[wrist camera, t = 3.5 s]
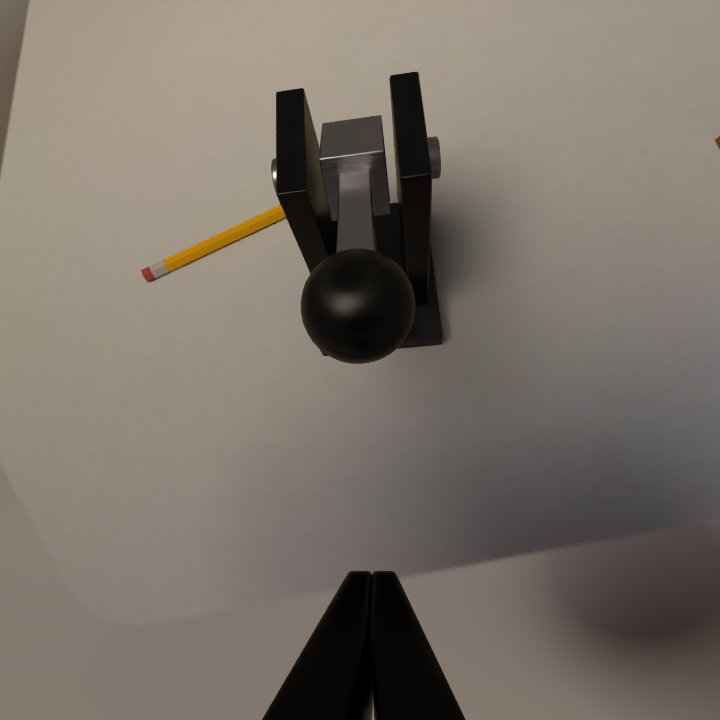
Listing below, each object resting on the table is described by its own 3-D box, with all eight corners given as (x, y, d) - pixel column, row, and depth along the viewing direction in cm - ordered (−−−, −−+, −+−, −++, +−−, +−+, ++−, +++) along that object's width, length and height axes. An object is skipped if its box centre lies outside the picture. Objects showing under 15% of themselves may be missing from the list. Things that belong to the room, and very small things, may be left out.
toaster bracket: (441, 344, 24) (456, 221, 14) (323, 356, 25) (260, 244, 15) (424, 210, 27) (427, 30, 17) (318, 223, 27) (262, 56, 18)
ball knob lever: (422, 381, 13) (418, 295, 10) (310, 391, 13) (283, 309, 11) (397, 181, 20) (391, 104, 17) (324, 191, 20) (309, 116, 18)
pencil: (146, 273, 28) (140, 267, 27) (356, 175, 28) (354, 167, 28) (150, 284, 27) (143, 278, 27) (362, 184, 28) (360, 176, 27)
